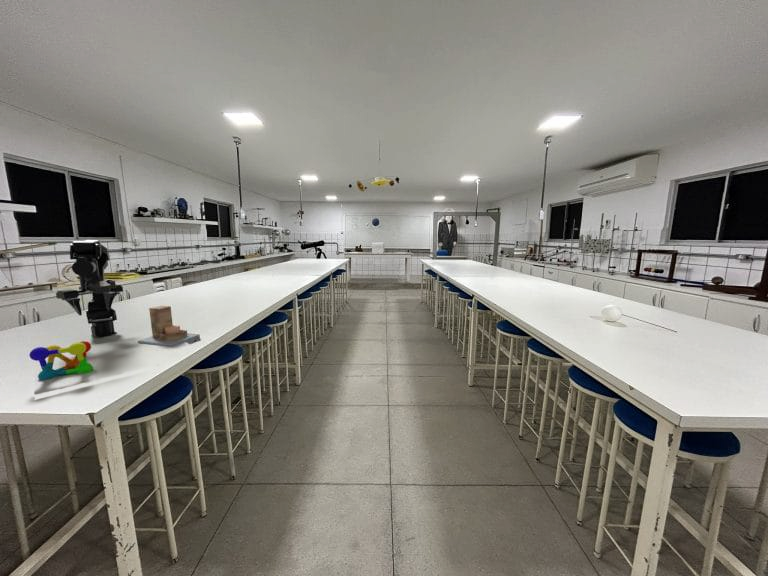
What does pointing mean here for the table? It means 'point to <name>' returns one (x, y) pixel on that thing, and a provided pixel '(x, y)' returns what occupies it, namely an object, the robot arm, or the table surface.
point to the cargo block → (172, 330)
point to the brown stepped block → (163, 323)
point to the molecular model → (55, 351)
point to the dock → (155, 341)
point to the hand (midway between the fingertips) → (95, 312)
